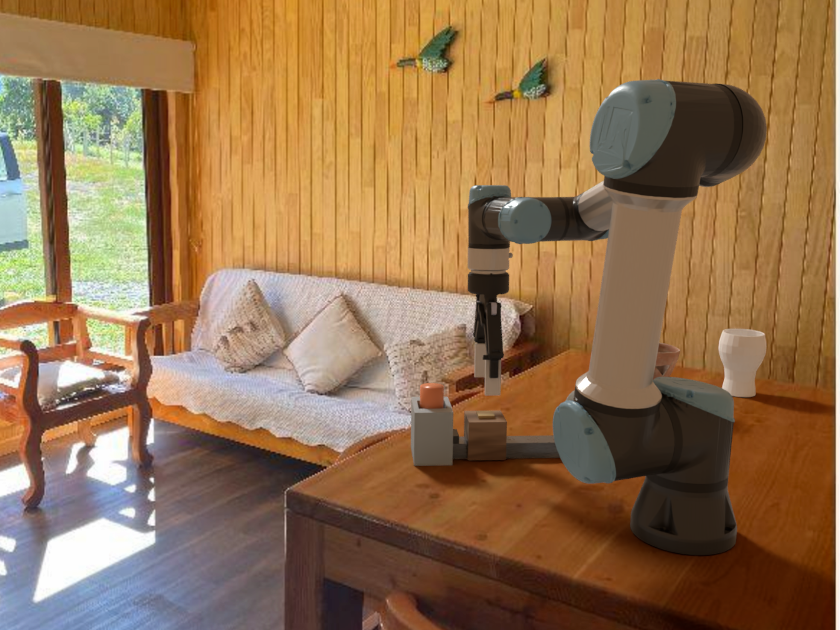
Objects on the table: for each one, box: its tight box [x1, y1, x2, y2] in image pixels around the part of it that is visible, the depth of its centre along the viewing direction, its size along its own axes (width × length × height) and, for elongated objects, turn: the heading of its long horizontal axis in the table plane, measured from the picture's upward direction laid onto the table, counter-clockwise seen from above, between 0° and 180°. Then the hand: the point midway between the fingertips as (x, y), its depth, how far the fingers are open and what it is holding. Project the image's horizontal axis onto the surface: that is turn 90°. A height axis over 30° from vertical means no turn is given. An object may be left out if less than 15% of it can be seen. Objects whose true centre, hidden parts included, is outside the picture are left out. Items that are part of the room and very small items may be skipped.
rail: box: [453, 428, 561, 460], centre depth 154 cm, size 4×24×4 cm, turn 94°
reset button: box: [419, 382, 445, 409], centre depth 152 cm, size 4×4×6 cm
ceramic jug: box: [653, 342, 681, 380], centre depth 185 cm, size 18×14×14 cm
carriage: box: [463, 410, 508, 461], centre depth 153 cm, size 7×7×8 cm
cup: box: [718, 328, 767, 398], centre depth 197 cm, size 11×11×15 cm
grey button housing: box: [410, 396, 454, 467], centre depth 153 cm, size 10×7×10 cm
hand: (486, 385), depth 151 cm, fingers open, 13 cm apart
